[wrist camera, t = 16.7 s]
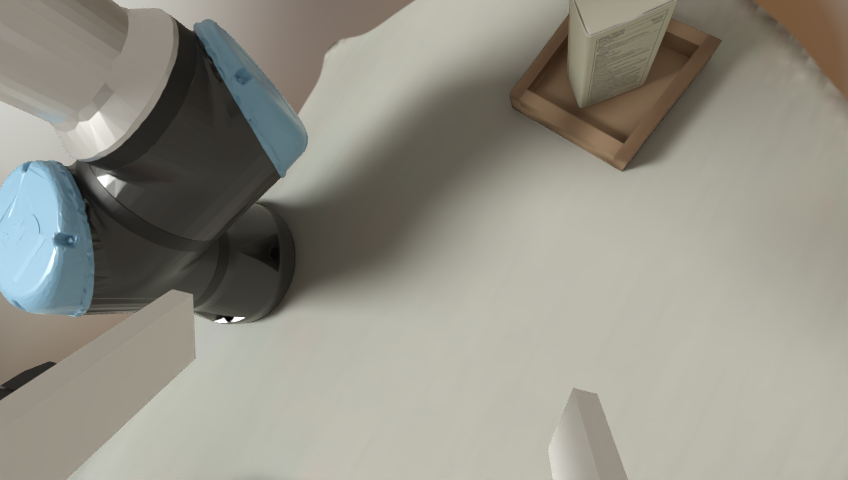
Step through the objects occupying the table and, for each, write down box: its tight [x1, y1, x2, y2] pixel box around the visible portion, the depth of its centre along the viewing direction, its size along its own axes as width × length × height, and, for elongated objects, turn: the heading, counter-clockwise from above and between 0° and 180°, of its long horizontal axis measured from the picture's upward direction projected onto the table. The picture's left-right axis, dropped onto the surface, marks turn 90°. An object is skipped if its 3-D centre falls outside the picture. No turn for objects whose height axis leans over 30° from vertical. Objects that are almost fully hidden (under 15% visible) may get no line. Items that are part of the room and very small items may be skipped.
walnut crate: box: [510, 15, 722, 171], centre depth 39 cm, size 13×13×3 cm
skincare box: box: [567, 0, 678, 108], centre depth 34 cm, size 6×4×12 cm
